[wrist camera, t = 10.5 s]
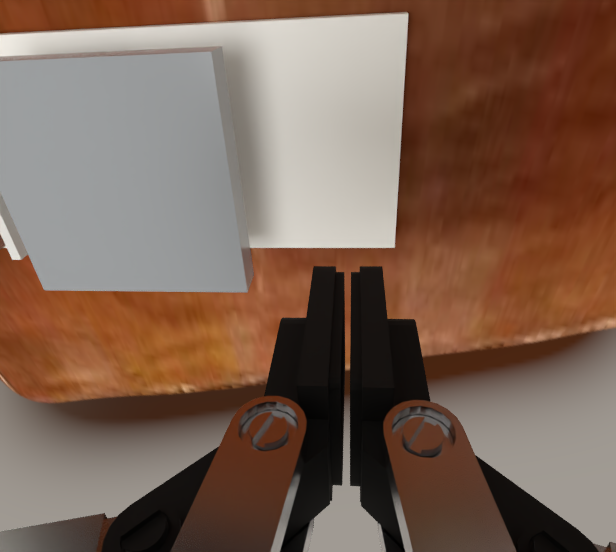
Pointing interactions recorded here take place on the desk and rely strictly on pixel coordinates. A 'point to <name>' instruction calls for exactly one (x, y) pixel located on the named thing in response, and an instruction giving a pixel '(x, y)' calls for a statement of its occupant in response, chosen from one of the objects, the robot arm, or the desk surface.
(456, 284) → the desk surface
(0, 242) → the roller
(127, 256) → the slab
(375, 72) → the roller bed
